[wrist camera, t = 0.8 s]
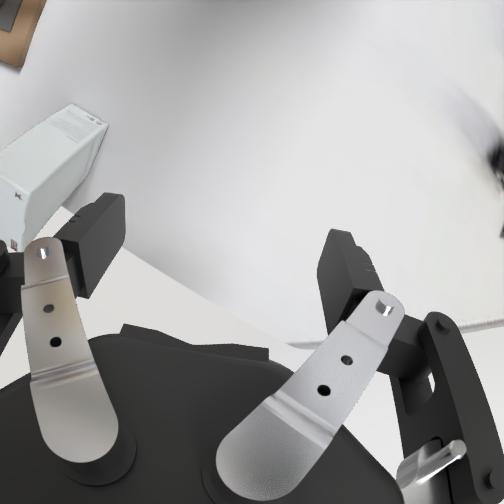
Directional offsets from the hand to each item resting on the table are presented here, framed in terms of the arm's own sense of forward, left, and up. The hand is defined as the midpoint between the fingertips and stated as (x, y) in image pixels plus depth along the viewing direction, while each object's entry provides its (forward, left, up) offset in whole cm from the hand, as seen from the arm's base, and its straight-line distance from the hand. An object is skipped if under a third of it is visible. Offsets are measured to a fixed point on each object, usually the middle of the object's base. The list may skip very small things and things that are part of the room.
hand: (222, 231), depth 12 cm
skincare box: (+13, -16, -21) cm, 30 cm away
